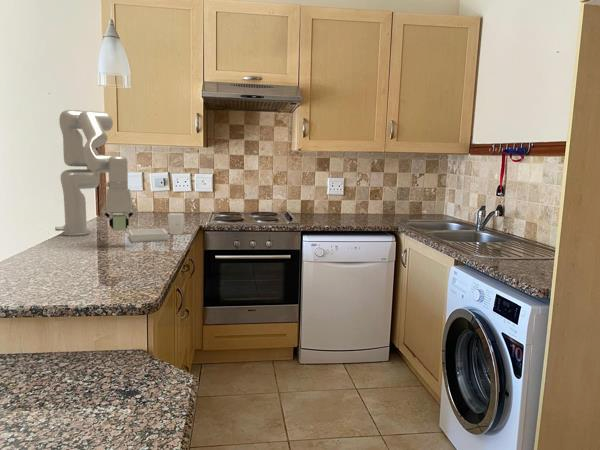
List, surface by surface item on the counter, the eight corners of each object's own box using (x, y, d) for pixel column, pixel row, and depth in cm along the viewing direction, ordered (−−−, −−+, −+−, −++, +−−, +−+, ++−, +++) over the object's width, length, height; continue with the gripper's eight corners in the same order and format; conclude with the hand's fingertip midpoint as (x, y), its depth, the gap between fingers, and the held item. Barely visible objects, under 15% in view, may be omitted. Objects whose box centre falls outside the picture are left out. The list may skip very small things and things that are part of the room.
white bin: (131, 242, 218) (131, 234, 217) (128, 237, 232) (128, 229, 232) (168, 240, 224) (167, 233, 224) (163, 235, 239) (162, 228, 238)
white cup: (165, 234, 242) (164, 214, 241) (175, 232, 249) (175, 212, 248) (177, 235, 239) (176, 215, 237) (187, 233, 246) (187, 213, 244)
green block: (113, 230, 206) (113, 216, 205) (112, 228, 210) (112, 214, 209) (125, 230, 208) (125, 216, 207) (124, 228, 212) (124, 214, 211)
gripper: (96, 186, 199) (98, 230, 202) (140, 186, 206) (140, 228, 209) (96, 184, 206) (97, 226, 209) (138, 185, 213) (138, 225, 216)
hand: (119, 227), depth 209 cm, fingers closed on green block, 5 cm apart
